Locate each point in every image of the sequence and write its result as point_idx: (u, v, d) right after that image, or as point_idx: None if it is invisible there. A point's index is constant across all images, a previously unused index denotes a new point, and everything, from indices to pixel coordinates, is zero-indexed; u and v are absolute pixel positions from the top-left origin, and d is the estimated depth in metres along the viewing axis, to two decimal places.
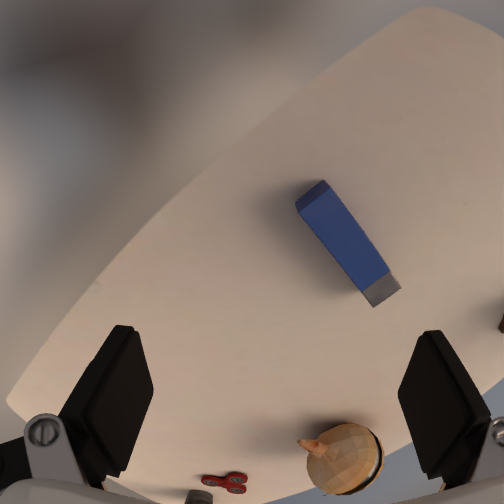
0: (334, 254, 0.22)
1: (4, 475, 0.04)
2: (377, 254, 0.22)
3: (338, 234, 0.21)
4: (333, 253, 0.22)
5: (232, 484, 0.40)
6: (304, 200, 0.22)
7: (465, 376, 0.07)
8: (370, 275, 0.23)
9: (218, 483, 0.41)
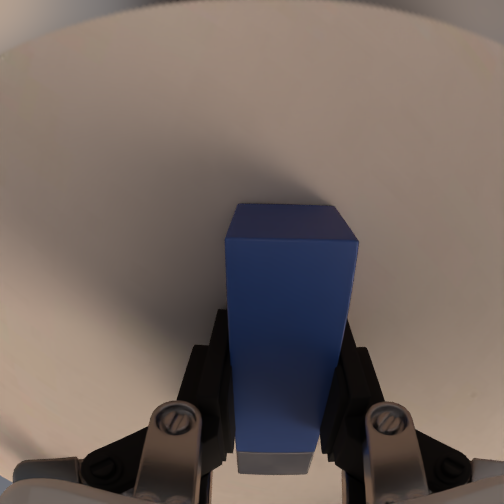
0: (236, 381, 0.08)
1: (127, 477, 0.05)
2: (318, 424, 0.09)
3: (280, 353, 0.08)
4: (236, 377, 0.08)
5: None
6: (263, 217, 0.08)
7: (353, 356, 0.08)
8: (274, 443, 0.09)
9: None
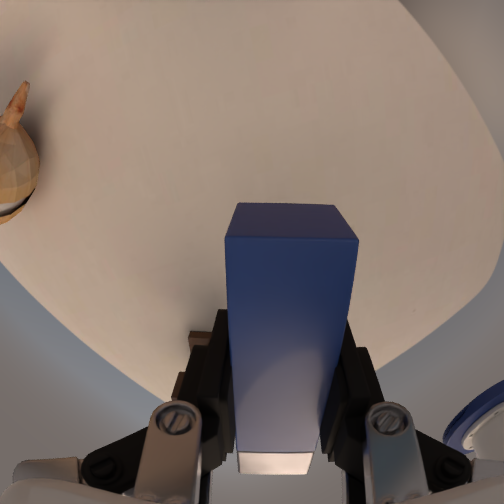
0: (236, 380, 0.08)
1: (127, 477, 0.05)
2: (319, 424, 0.09)
3: (281, 352, 0.08)
4: (236, 377, 0.08)
5: None
6: (263, 216, 0.08)
7: (353, 356, 0.08)
8: (275, 442, 0.09)
9: None
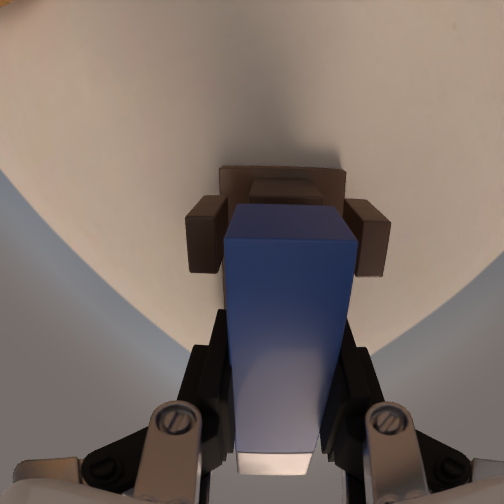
0: (235, 381, 0.08)
1: (127, 476, 0.05)
2: (318, 425, 0.09)
3: (279, 354, 0.08)
4: (235, 378, 0.08)
5: None
6: (262, 217, 0.08)
7: (353, 355, 0.08)
8: (274, 443, 0.09)
9: None
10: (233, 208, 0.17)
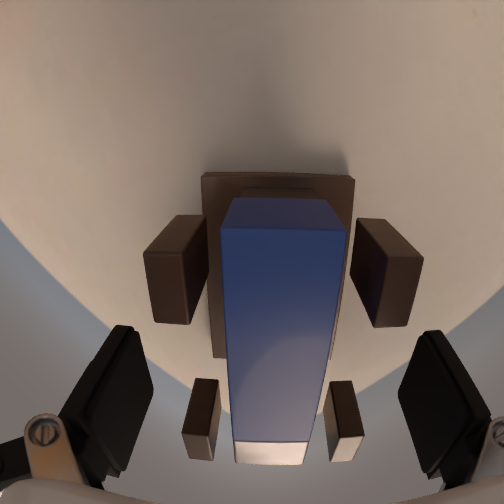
0: (231, 368, 0.09)
1: (4, 475, 0.04)
2: (312, 412, 0.09)
3: (274, 340, 0.08)
4: (231, 364, 0.08)
5: None
6: (257, 210, 0.08)
7: (465, 376, 0.07)
8: (270, 431, 0.10)
9: None
10: (218, 224, 0.14)
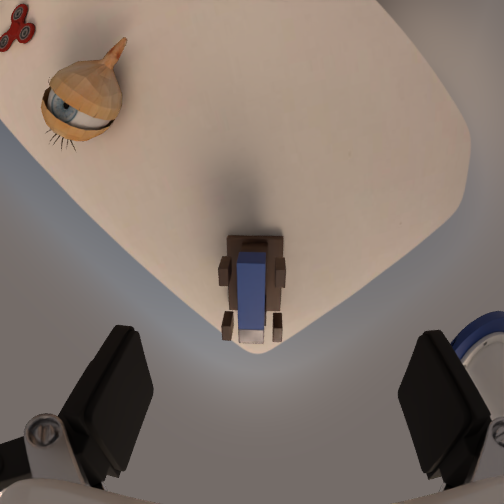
0: (238, 299, 0.33)
1: (4, 475, 0.04)
2: (263, 316, 0.33)
3: (249, 290, 0.32)
4: (238, 297, 0.33)
5: (17, 31, 0.26)
6: (245, 257, 0.32)
7: (465, 376, 0.07)
8: (250, 324, 0.34)
9: (17, 20, 0.26)
10: (233, 255, 0.38)
